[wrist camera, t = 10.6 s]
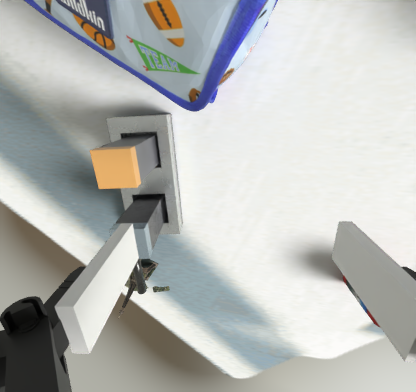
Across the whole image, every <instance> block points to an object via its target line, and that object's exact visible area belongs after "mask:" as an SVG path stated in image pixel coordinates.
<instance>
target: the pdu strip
mask: <svg viewBox="0 0 416 392" xmlns="http://www.w3.org/2000/svg"><path fill="white" fill-rule="evenodd" d="M106 121H107V126H108V131H109V135H110V140H111V143H112V142H114V141H117V140H120V139H122V138H125V137H127V136H130V135H138V134H157V136H158V144H159V152H160V159H161V161H160V162H159V163H158V165H157V166H156V167H155V168H154V169H153V170H152V171H151V172H150V173H149V174H148V175H147V176H146V178H145V179H144V180H143V181H142V182H141V184H140V185H139V186H138V187H137V188H120V189H121V193H122V198H123V203H124V208H125V212H124V213H123V214H122V216H121V217H120V218H119V219H118V220H117V222H116V223H115V224H113V226H112V227H111V228H110V229H109V233H110V237H111V235H112V234H113V233H114V232H115V230H116V229H117V228H118V227H119V225H120V224H121V223H133V228H134V234H135V239H136V245H137V250H138V256H139V259H138V261H137V262H136V264H135V266H134V268H133V272H134V277H135V282H136V286H137V291H138V293H139V294H144V293H145V292H146V286H145V281H144V276H143V271H142V266H141V261H140V259H150V256H151V254H152V252H153V251H152V250H153V248H154V246H155V243H156V241H157V238H158V236H159V234H180V231H181V227H182V224H183V221H182V212H181V202H180V193H179V184H178V174H177V165H176V155H175V146H174V137H173V127H172V118H171V114H162V115H144V116H126V117H113V118H107V119H106Z"/></svg>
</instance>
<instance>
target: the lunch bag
mask: <svg viewBox="0 0 416 392" xmlns="http://www.w3.org/2000/svg"><path fill="white" fill-rule="evenodd" d="M24 1H26V2H27V3H28V4H30V5H31V6H32V7H34V8H35V9H36V10H38V11H39V12H40V13H42V14H43V15H44V16H46V17H47V18H48V19H50V20H51V21H53V22H54V23H56V24H57V25H58V26H60V27H61V28H63V29H64V30H66V31H67V32H69V33H70V34H72V35H73V36H74V37H76V38H77V39H79V40H81V41H82V42H84V43H85V44H87V45H88V46H90V47H91V48H93V49H94V50H96V51H97V52H99V53H100V54H102V55H103V56H105V57H106V58H108V59H109V60H111V61H112V62H114V63H115V64H117V65H119V66H120V67H122V68H124V69H125V70H127V71H129V72H130V73H132V74H133V75H135V76H136V77H138V78H139V79H141V80H142V81H144V82H145V83H147V84H148V85H150V86H151V87H153V88H154V89H156V90H157V91H159V92H160V93H162V94H163V95H165V96H166V97H167V98H169V99H170V100H172V101H173V102H175V103H176V104H178V105H179V106H181V107H183V108H184V109H187V110H189V111H199V110H201V109H203V108H204V107H205V106H206V105H207V104H208V103H213V102H214V100H215V97H216V95H217V91H218V87H219V86H220V85H222V84H223V83H224V82H225V81H226V80H227V79H228V78H229V77H230V76H231V75H232V74H233V73H234V72H235V71H236V70H237V69H238V68H239V67H240V66H241V64H242V63H243V62H244V60H245V59H246V57H247V56H248V55H249V53H250V52H251V50H252V49H253V47H254V46H255V44H256V42H257V41H258V39H259V37H260V35H261V33H262V31H263V29H264V28H265V27H266V26H267V24H268V20H269V17H270V15H271V13H272V11H273V9H274V7H275V5H276V3H277V1H278V0H24Z"/></svg>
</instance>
